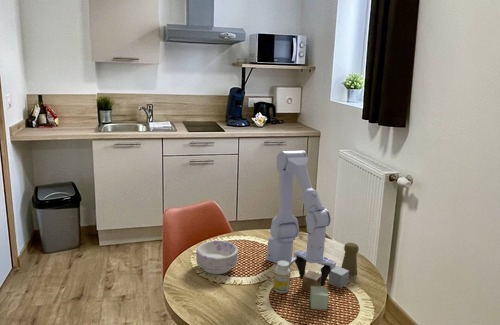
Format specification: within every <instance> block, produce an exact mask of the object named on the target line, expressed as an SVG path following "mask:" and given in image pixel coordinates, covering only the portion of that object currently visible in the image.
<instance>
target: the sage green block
mask: <svg viewBox="0 0 500 325" xmlns="http://www.w3.org/2000/svg"><path fill="white" fill-rule="evenodd" d="M309 293H310V294H309V302H310V303H309V305H310V309H312V310H325V311H326V310H328V303H329V293H328V287H326V286H323V287H322V286H321V287H315V286H311V291H310V292H309Z"/></svg>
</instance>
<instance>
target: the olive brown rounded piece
mask: <svg viewBox="0 0 500 325" xmlns="http://www.w3.org/2000/svg"><path fill="white" fill-rule="evenodd" d="M343 249H344V254H343V255H344V256H343V260H342V264H341V266H340V267H341V268H344V269H346V270H349V276H355V275H357V274H358V261H357V260H358V257H357V256H358V253H359V249H360V248H359V246H358V244H357V243H355V242H347V243H345V244H344V247H343Z"/></svg>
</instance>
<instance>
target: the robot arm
mask: <svg viewBox="0 0 500 325" xmlns="http://www.w3.org/2000/svg"><path fill="white" fill-rule="evenodd" d="M308 156H309V155H308V153H307V152H306V151H305V150H303V149H300V150H281V151H279V152H278V154H277V156H276V172H278V173H279V174H278V180H279V181H278V214H277V215H275V216H274V217H273V218H272V219H271V226H270V232H269V233H270V237H269V238H268V241H267V246H266V247H267V248H266V258H265V260H266V261H269V262H272V263H275V264H277V262H278V261H282V260H283V261H287V262H289V265H291V264H292V263H295V264H296V267H297V269H298V273H299V279H300V280H303V275H304V274H306V266H307V263H309V264H319V265H322V267H321V268H320V272H321V273H320V274H321V287H325V285H326V282H327V279H328V278H329V273H330V271H331V270H332V269H334V268H335V267H336V266H337V262H336V261H334V260H332V259H331V258H328V257H326V256H325V255H324V254H325V242H326V233H327V232H326V230H327V227H329V226H330V225H331V219H332V218H331V213H330V211H329V210H328V209H327V208H326V207H325V206H324V205H323V204H322V202H321V199H320V196H319V194H318V191H317V190H316V189H315V188H313V186H312V182H311V178H310V175H309V171H308V164H309V157H308ZM294 176H295V177H296V181H297V183H298V185H299V187H300V189H301V191H302V193H301V195H300V198H301V201H302V203H303V206H304V209H305V213H306V215H305V224H306V231H307V239H306V240H307V242H306V251H305V250H304V251H303V250H298V249H295V251H294V252H293V249H294V241H296V238H297V237H298V236H299V234H300V233H299V232H300V228H299V227H300V226H299V221H298V218H297V217H296V216H295V215H293V196H294V195H293V188H294V187H293V184H294V182H293V181H294Z"/></svg>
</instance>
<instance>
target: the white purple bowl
mask: <svg viewBox="0 0 500 325" xmlns="http://www.w3.org/2000/svg"><path fill="white" fill-rule="evenodd" d="M195 254H196V257H195V258H196V265H198V266H199V267H200V268H202V269H203V270H204V271H205V272H206V273H208V274H212V275H221V274H225V273H228V272H229V271H230V270H232V268H234V267H235V266H237V264H238V261H239V248H238V246H237V245H236V244H234V243H232V242H230V241H226V240H209V241H205V242H203V243H202V242H201V244H199V245H198V246H197V247H196V253H195Z"/></svg>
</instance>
